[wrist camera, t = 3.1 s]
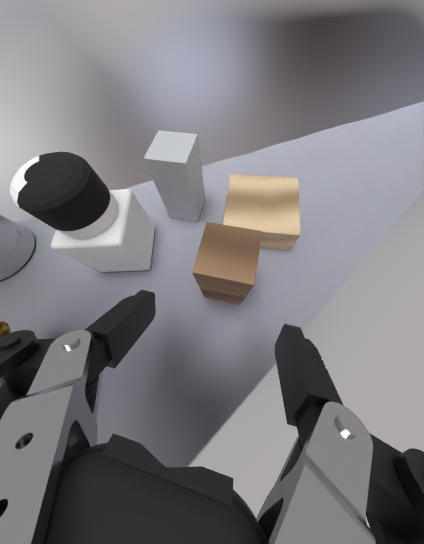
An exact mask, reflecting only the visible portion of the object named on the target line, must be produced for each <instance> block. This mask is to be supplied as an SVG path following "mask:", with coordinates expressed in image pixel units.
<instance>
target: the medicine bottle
mask: <svg viewBox="0 0 424 544" xmlns="http://www.w3.org/2000/svg"><path fill="white" fill-rule="evenodd" d="M10 193H11V196H12V199H13V201H14V203H15V204H16V205H17V206H18V207H20V208H22V209H23V210H25V211H26V212H28V213H30V214H31V215H33V216H34V217H36V218H38V219H39V220H41V221H43V222H44V223H46V224H48V225H49V226H51V227H53V228H54V229H56V232H55V234H54V237H53V240H52V242H51V248H52V249H53V250H55V251H57V252H59V253H61V254H64V255H66V256H68V257H70V258H72V259H74V260H76V261H78V262H80V263H82V264H84V265H87V266H89V267H91V268H93V269H95V270H97V271H99V272H117V271H139V270H149V269H150V266H151V257H152V248H153V240H154V231H155V227H154V225H153V223H152V222H151V220H150V219H149V217H148V216H147V214H146V213H145V211H144V209H143V208H142V206H141V205H140V203H139V202H138V200H137V199H136V197H135V195H134V194H133V192H132V191H131V190H130V189H123V190H109V189H108V188H107V186H106V185H105V184H104V183H103V181H102V180H101V179H100V178H99V176H98V175H97V174H96V173H95V172H94V170H93V169H92V168H91V167H90V165H89V164H88V163H87V161H86V160H85V159H83V158H82V157H80V156H78V155H75V154H73V153H69V152H54V153H48V154H44V155H40V156H38V157H35V158H34V159H31V160H30V161H28V162H27V163H25V164H24V165H23V166H22V167H21V168H20V169H19V170H18V171H17V173H16V174H15V176H14V178H13V180H12V182H11V185H10Z"/></svg>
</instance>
